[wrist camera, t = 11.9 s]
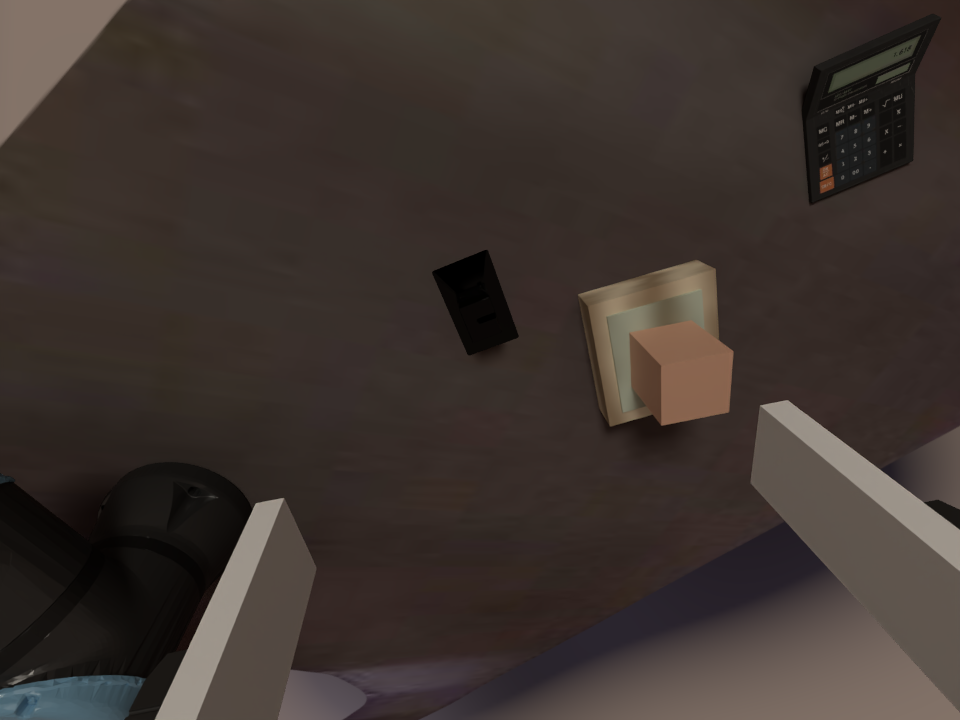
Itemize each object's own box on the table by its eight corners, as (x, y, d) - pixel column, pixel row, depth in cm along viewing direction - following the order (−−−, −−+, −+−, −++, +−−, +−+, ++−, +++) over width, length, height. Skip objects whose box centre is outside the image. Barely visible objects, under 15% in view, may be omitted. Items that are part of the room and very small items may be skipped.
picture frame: (598, 406, 53) (611, 428, 49) (576, 292, 47) (588, 307, 43) (702, 377, 53) (723, 396, 49) (693, 258, 47) (717, 270, 43)
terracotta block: (631, 386, 47) (661, 425, 41) (629, 332, 45) (661, 365, 38) (689, 374, 47) (728, 412, 41) (691, 320, 45) (733, 351, 38)
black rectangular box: (529, 344, 49) (537, 364, 45) (463, 368, 50) (466, 390, 46) (489, 231, 44) (494, 241, 40) (416, 260, 44) (414, 273, 40)
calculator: (805, 201, 45) (829, 206, 42) (794, 69, 40) (820, 65, 37) (904, 160, 44) (935, 162, 41) (906, 19, 39) (941, 11, 36)
